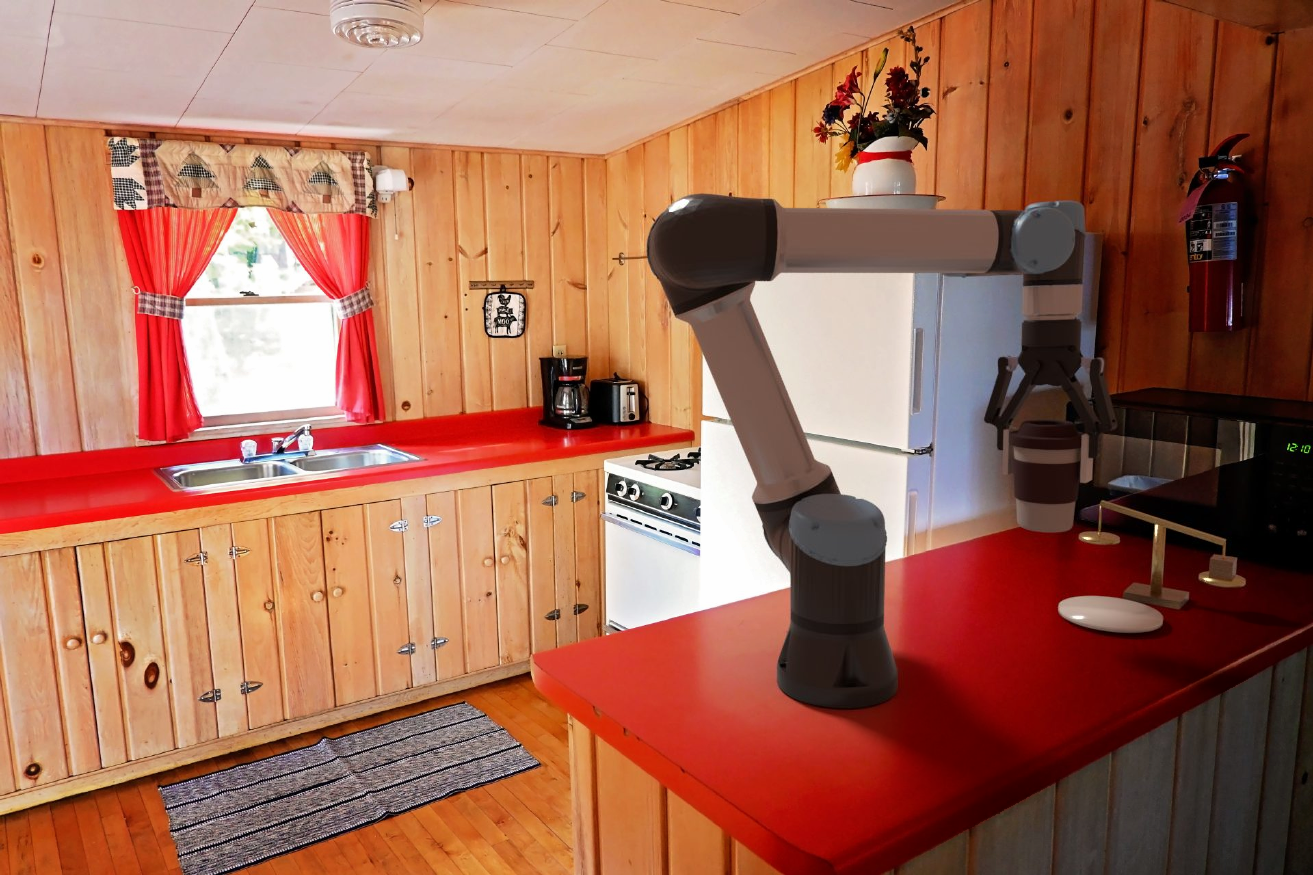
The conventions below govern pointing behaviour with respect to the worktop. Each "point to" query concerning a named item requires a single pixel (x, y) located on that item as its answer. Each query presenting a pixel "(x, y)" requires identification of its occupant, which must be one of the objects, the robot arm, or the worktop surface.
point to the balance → (1219, 569)
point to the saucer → (1110, 614)
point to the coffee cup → (1046, 474)
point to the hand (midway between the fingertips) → (1046, 476)
